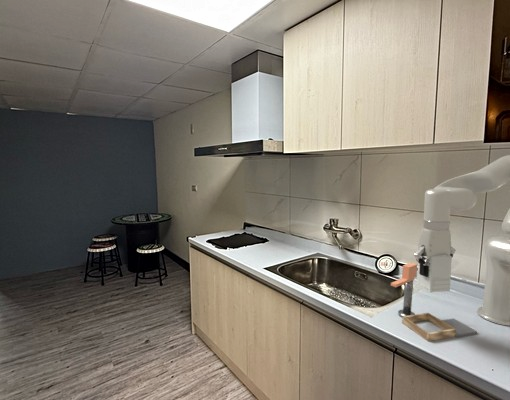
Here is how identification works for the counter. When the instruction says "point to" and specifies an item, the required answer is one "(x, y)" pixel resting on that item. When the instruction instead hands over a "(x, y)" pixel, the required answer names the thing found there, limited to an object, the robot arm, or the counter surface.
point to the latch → (406, 274)
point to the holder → (447, 329)
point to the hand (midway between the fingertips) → (433, 273)
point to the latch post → (407, 300)
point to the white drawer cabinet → (436, 274)
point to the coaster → (460, 328)
